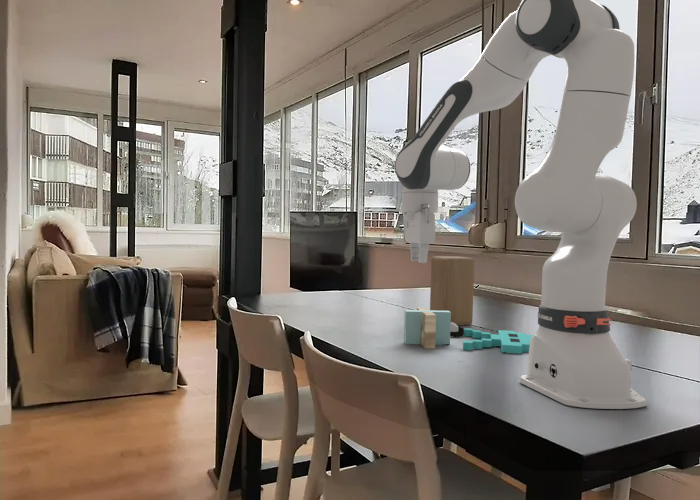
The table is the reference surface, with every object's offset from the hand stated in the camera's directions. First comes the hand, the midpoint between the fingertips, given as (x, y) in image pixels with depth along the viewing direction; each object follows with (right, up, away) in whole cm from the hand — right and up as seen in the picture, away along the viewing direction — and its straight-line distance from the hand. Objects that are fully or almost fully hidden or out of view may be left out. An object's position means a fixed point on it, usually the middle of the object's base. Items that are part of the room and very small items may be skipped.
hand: (418, 262), depth 140 cm
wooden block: (+14, -19, +33) cm, 40 cm away
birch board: (+2, -20, +1) cm, 20 cm away
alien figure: (+22, -21, +2) cm, 30 cm away
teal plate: (+2, -20, +1) cm, 20 cm away
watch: (+10, -20, +13) cm, 26 cm away
